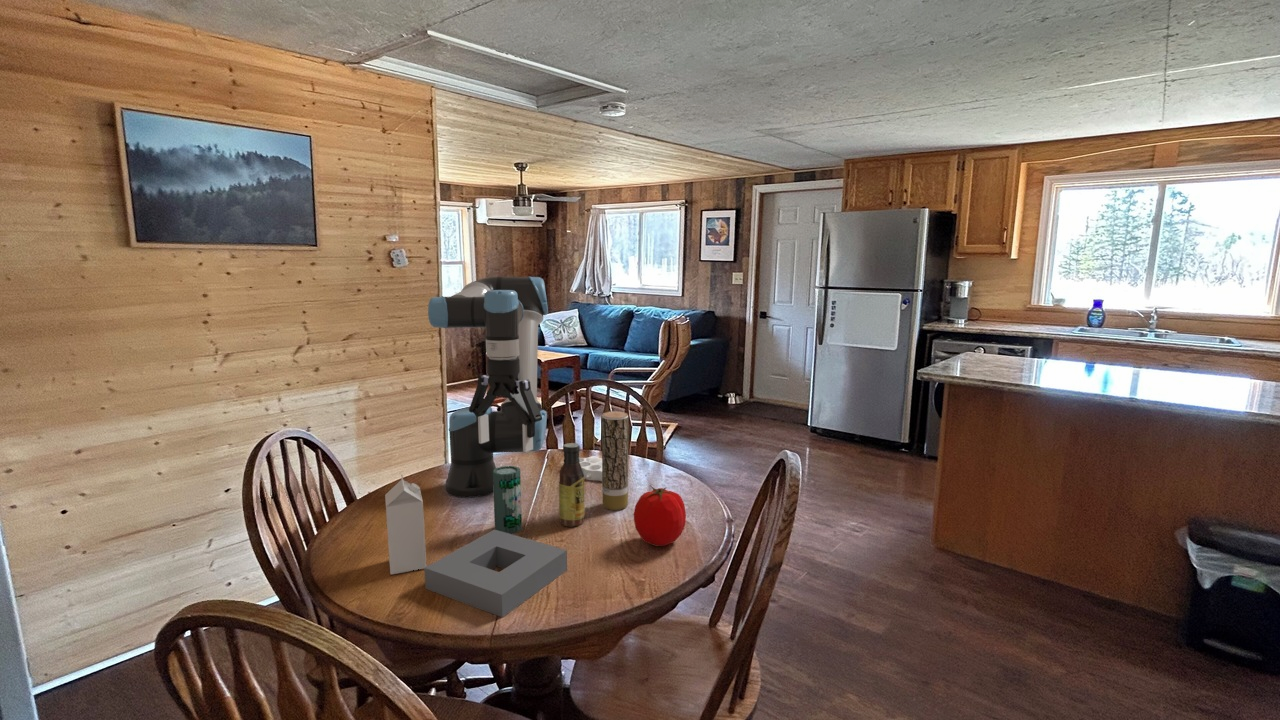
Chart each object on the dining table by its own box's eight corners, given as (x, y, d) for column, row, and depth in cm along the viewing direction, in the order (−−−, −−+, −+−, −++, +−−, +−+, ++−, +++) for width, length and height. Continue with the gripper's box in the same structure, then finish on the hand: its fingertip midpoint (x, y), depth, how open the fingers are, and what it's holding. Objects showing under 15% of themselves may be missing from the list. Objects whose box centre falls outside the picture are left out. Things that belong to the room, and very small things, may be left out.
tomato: (693, 550, 138) (694, 494, 136) (641, 557, 135) (641, 500, 133) (676, 529, 149) (676, 477, 147) (627, 535, 146) (627, 482, 144)
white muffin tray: (632, 473, 189) (601, 487, 177) (588, 461, 200) (557, 474, 188) (632, 463, 188) (601, 476, 177) (588, 451, 199) (556, 463, 187)
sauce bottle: (580, 529, 149) (579, 450, 146) (555, 526, 150) (554, 448, 147) (587, 518, 155) (587, 442, 152) (564, 515, 156) (563, 440, 153)
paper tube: (613, 513, 158) (613, 419, 154) (597, 505, 163) (596, 414, 159) (633, 506, 163) (633, 415, 158) (617, 499, 168) (617, 410, 164)
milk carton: (390, 575, 127) (384, 488, 124) (389, 560, 133) (383, 476, 130) (426, 569, 129) (421, 483, 126) (423, 554, 136) (419, 472, 133)
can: (513, 536, 145) (511, 475, 142) (490, 532, 147) (488, 472, 144) (525, 526, 150) (524, 467, 148) (504, 522, 152) (502, 464, 150)
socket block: (425, 588, 122) (424, 567, 121) (495, 548, 139) (494, 529, 138) (502, 617, 112) (501, 594, 111) (567, 570, 129) (566, 550, 128)
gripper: (451, 355, 144) (455, 442, 148) (535, 363, 132) (537, 458, 136) (474, 351, 151) (477, 435, 154) (556, 359, 139) (557, 449, 142)
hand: (505, 446), depth 145 cm, fingers open, 13 cm apart
